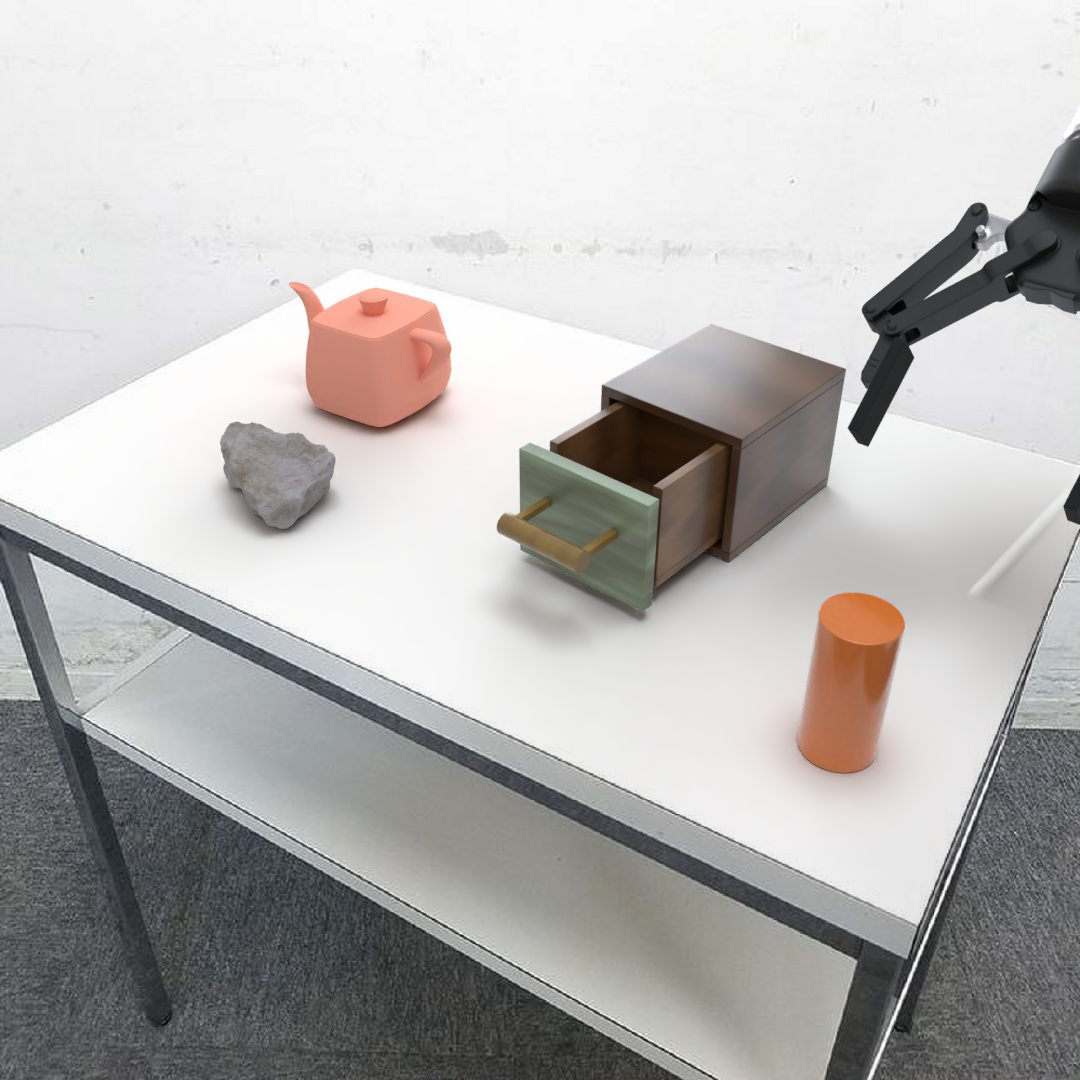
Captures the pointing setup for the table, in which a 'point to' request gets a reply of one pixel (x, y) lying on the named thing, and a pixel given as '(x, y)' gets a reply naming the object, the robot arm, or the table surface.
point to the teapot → (374, 354)
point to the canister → (849, 681)
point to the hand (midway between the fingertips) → (959, 475)
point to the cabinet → (745, 420)
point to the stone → (276, 471)
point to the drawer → (621, 501)
